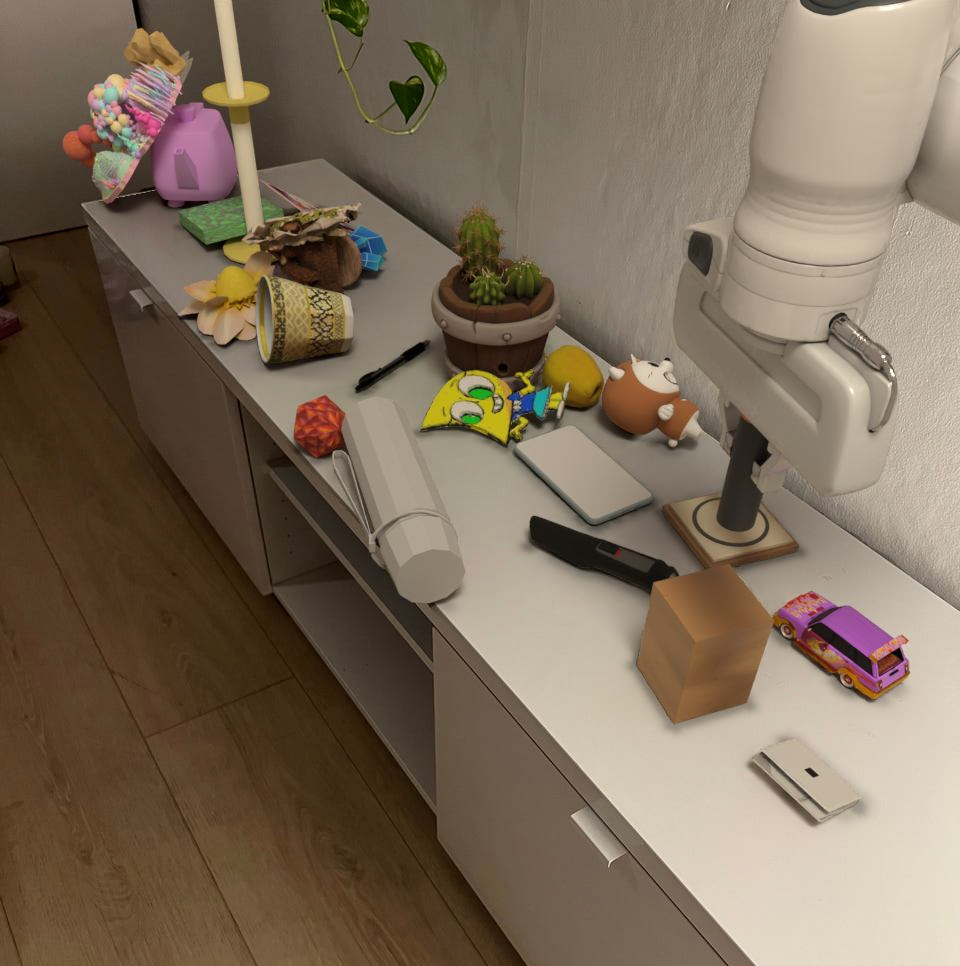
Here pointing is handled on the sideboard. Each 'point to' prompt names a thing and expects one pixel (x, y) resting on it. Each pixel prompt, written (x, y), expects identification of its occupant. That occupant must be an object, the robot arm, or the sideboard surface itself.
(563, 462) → the smartphone
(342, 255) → the gemstone
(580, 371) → the apple
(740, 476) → the marker
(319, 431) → the decorative stone
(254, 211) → the candle
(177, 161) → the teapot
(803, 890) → the sideboard surface
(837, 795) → the laptop
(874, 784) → the sideboard surface
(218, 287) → the decorative flower
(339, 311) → the ceramic cup
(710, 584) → the brown block
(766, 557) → the ringed wooden coaster
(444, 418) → the toy
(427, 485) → the water bottle
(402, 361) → the pen
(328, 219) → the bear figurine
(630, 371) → the figurine
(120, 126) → the candy platter
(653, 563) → the electric trimmer
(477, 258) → the flowerpot
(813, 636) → the toy car
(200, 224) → the green jade tablet
